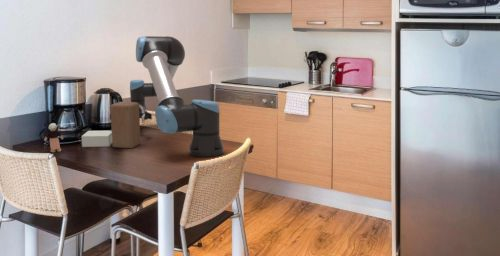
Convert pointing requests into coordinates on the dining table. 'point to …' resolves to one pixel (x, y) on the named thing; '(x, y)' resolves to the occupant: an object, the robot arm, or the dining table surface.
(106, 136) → the base brick
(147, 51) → the robot arm
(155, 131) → the dining table surface
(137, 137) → the wooden block
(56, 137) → the grandmother figurine
